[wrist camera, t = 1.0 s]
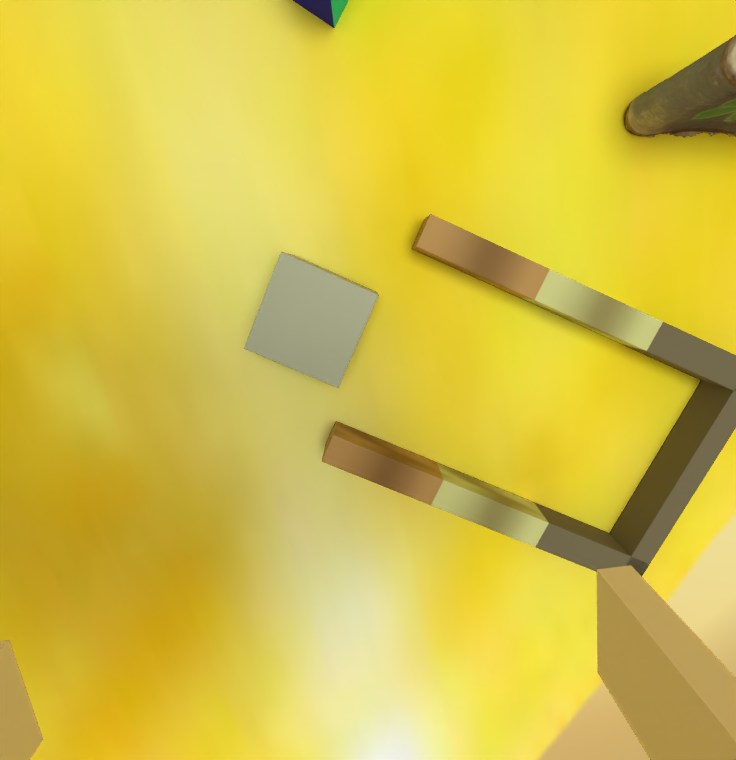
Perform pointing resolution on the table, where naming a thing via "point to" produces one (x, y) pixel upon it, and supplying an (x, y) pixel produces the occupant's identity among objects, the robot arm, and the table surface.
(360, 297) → the block
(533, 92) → the table surface
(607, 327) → the channel rails
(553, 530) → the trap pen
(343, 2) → the building blocks toy
